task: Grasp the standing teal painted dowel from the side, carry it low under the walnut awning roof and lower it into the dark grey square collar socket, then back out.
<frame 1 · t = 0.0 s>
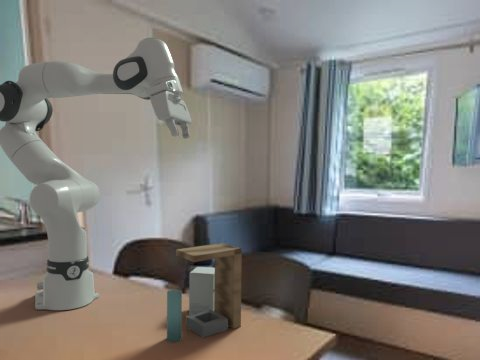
hand: (181, 137, 112), 52 cm above the table, tool tilted 20°, fingers open, 8 cm apart
awning: (207, 328, 103), on the table
supplement box: (204, 312, 115), on the table
peg: (174, 338, 97), on the table
socket: (207, 328, 103), on the table
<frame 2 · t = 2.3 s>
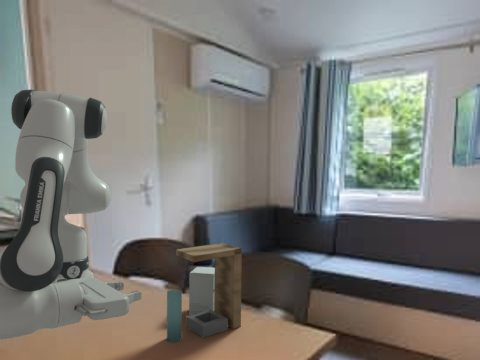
hand: (130, 290, 89), 15 cm above the table, tool horizontal, fingers open, 8 cm apart
nothing on the table moved.
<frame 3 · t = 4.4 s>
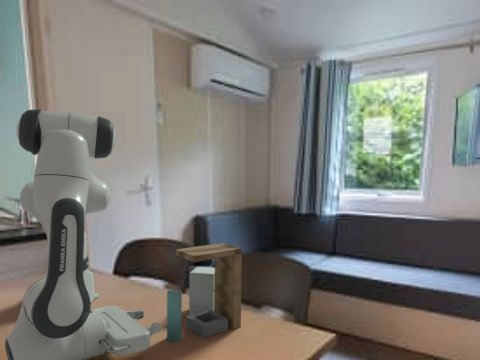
hand: (150, 319, 93), 6 cm above the table, tool horizontal, fingers open, 8 cm apart
nothing on the table moved.
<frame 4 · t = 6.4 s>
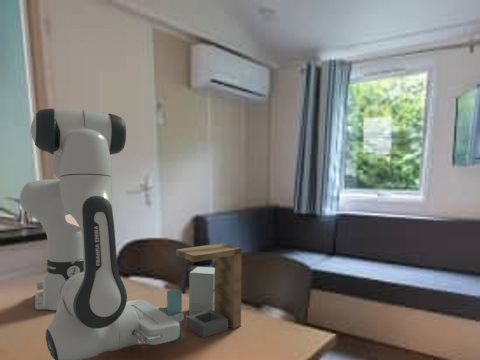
hand: (177, 312, 97), 7 cm above the table, tool horizontal, fingers closed on peg, 4 cm apart
peg: (174, 338, 97), on the table, touching gripper
everything else where it was.
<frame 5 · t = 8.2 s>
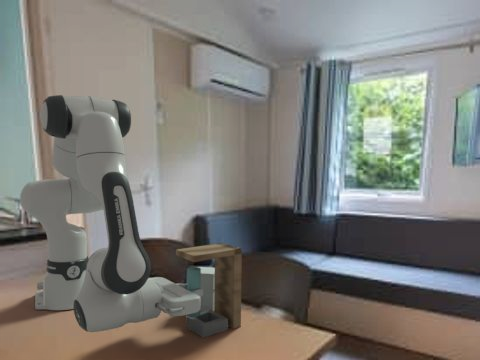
hand: (196, 289, 100), 11 cm above the table, tool horizontal, fingers closed on peg, 4 cm apart
peg: (193, 314, 100), point 5 cm above the table, touching gripper
everything else where it was.
when the fingers open (8 cm above the table, at t = 10.0 s): peg drops 1 cm, resting in socket.
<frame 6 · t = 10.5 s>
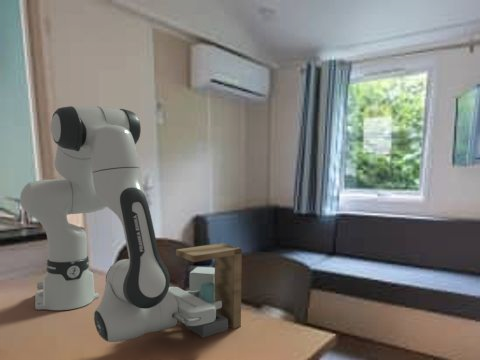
hand: (210, 298, 103), 8 cm above the table, tool horizontal, fingers open, 8 cm apart
peg: (207, 328, 103), resting in socket
everything else where it was.
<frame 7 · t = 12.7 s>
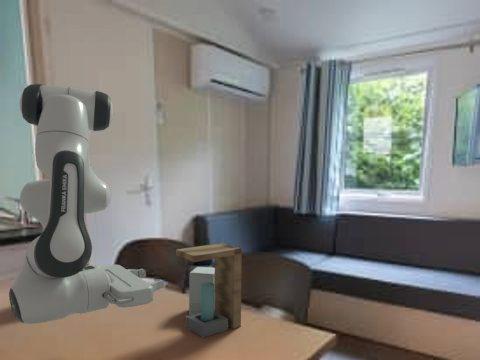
hand: (153, 277, 93), 16 cm above the table, tool horizontal, fingers open, 8 cm apart
nothing on the table moved.
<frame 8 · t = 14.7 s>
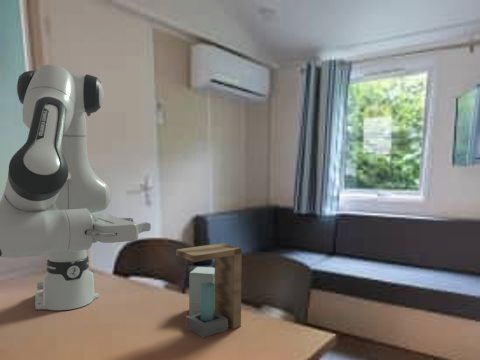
hand: (140, 223, 90), 30 cm above the table, tool horizontal, fingers open, 8 cm apart
nothing on the table moved.
at the end: peg 0.0 cm off-centre on the socket, point 0.0 cm above the socket's base; peg tilted 0°; the gripper is holding nothing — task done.
